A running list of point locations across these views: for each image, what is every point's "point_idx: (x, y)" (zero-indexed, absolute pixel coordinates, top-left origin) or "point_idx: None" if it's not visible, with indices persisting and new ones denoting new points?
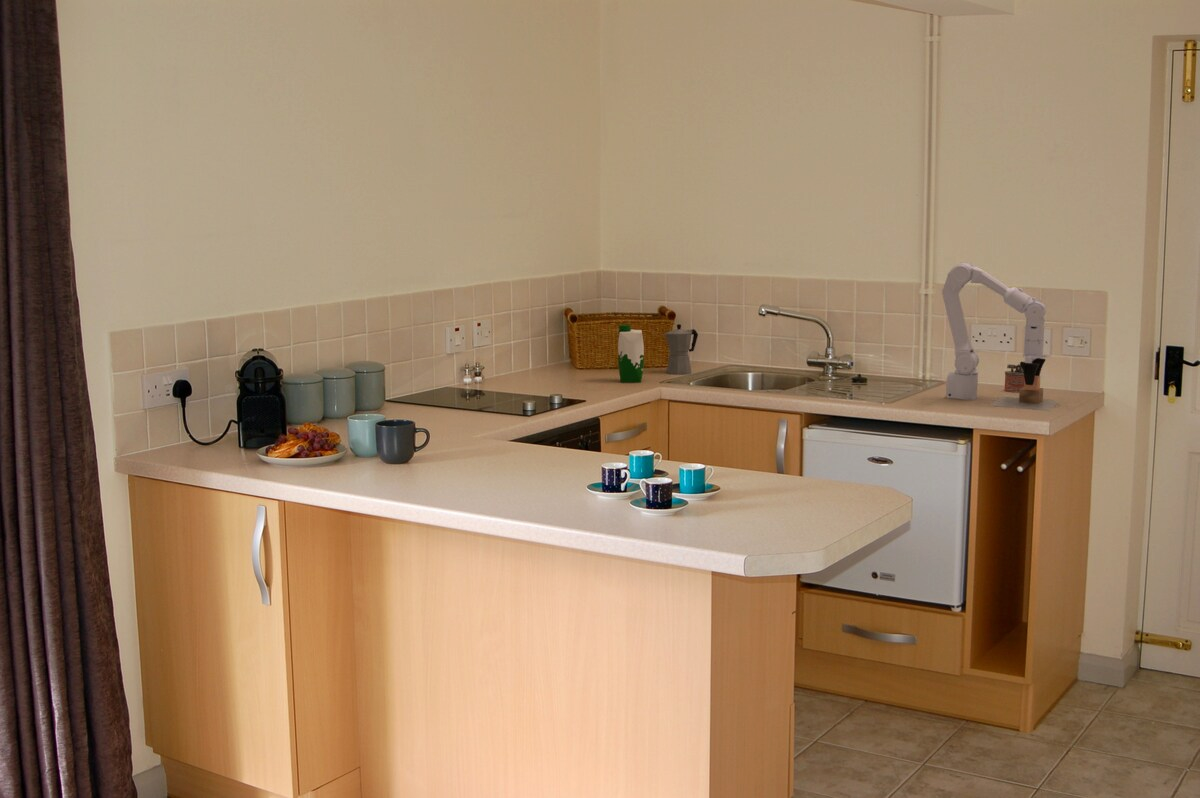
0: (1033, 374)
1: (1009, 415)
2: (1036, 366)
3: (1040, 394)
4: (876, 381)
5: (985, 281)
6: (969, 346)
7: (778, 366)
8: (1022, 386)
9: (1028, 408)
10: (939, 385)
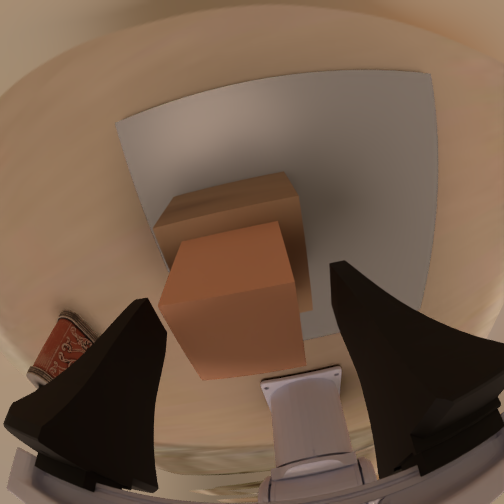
0: (408, 312)
1: (492, 202)
2: (501, 349)
3: (246, 195)
4: (208, 471)
5: None
6: None
7: (204, 493)
8: (73, 349)
9: (432, 170)
10: (157, 443)
